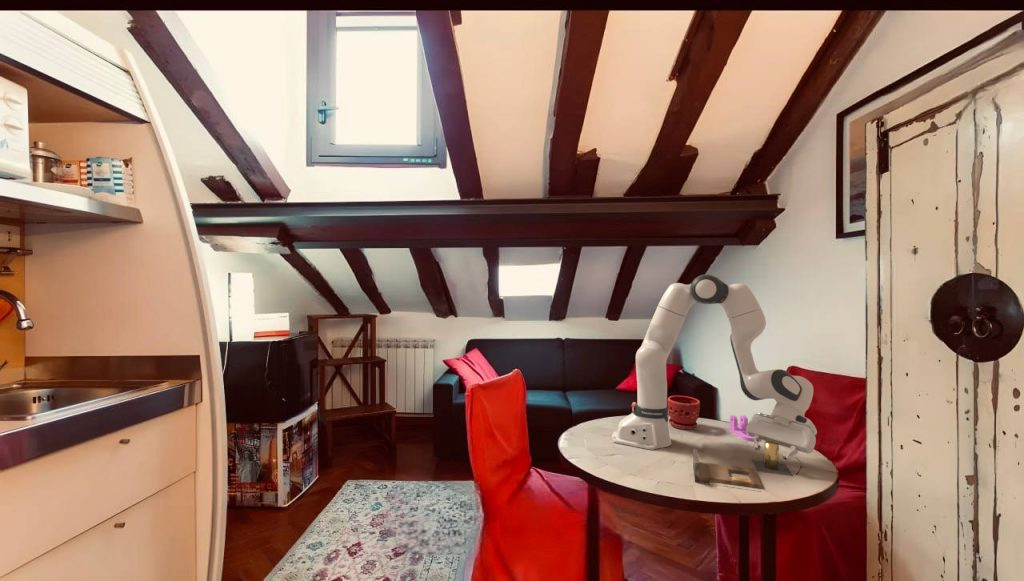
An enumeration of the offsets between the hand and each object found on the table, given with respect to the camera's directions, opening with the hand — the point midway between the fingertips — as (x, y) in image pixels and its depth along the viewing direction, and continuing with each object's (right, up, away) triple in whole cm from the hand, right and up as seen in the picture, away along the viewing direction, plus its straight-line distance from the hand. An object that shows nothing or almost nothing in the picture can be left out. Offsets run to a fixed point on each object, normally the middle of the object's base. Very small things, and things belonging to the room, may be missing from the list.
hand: (770, 453), depth 139 cm
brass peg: (+1, -5, 0) cm, 5 cm away
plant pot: (-10, -6, +45) cm, 47 cm away
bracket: (+10, -6, +33) cm, 35 cm away
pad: (+1, -6, 0) cm, 6 cm away
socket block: (-18, -6, -6) cm, 19 cm away
